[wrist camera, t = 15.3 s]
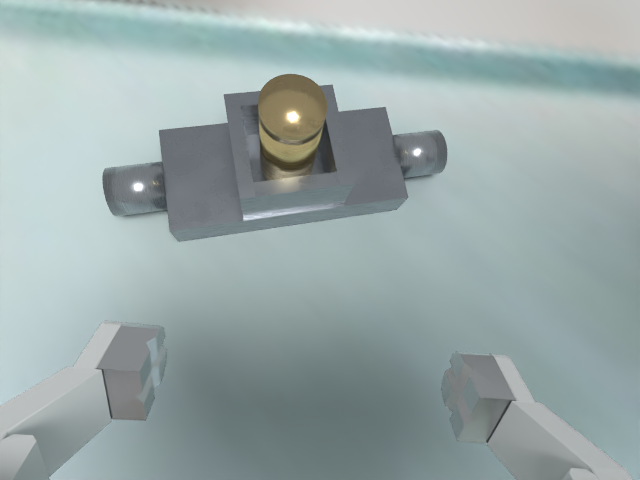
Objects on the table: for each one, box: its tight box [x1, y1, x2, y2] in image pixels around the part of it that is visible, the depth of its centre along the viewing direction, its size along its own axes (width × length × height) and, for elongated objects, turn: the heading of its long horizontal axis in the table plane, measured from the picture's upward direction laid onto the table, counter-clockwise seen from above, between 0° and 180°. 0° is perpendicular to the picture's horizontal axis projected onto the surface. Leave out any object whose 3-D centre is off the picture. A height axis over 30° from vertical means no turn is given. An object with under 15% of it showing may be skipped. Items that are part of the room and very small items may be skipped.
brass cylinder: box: [258, 74, 327, 181], centre depth 27 cm, size 4×4×8 cm
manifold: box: [103, 85, 447, 242], centre depth 31 cm, size 26×8×7 cm, turn 101°
